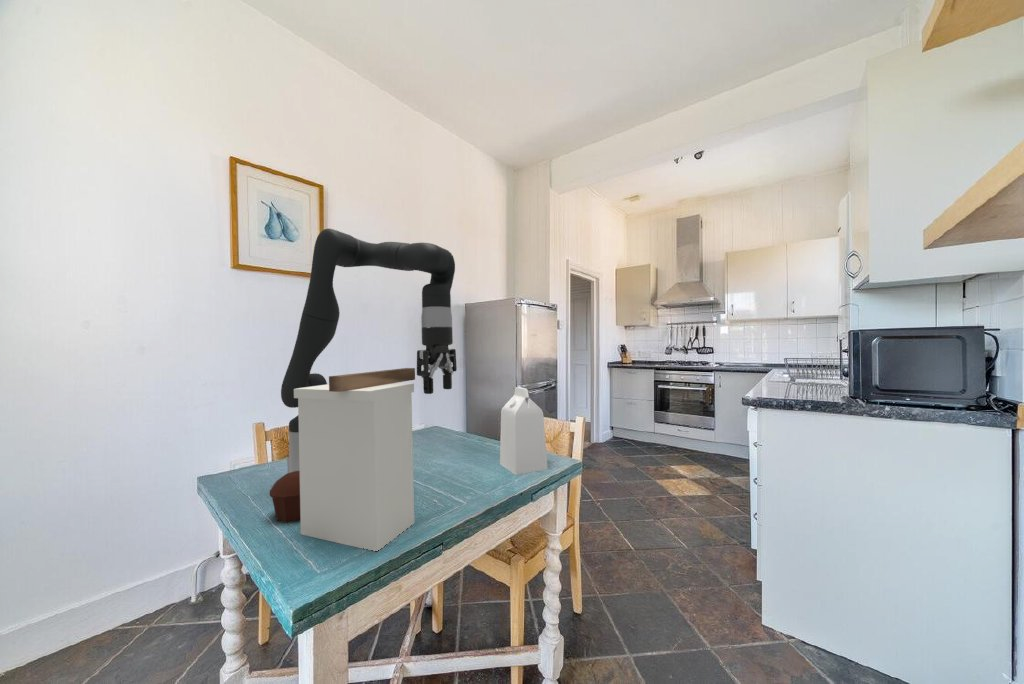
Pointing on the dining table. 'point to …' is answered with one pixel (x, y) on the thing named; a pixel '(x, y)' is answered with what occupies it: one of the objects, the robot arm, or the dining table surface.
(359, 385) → the walnut handle
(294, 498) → the muffin
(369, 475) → the tall stand
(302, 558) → the dining table surface
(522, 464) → the milk
